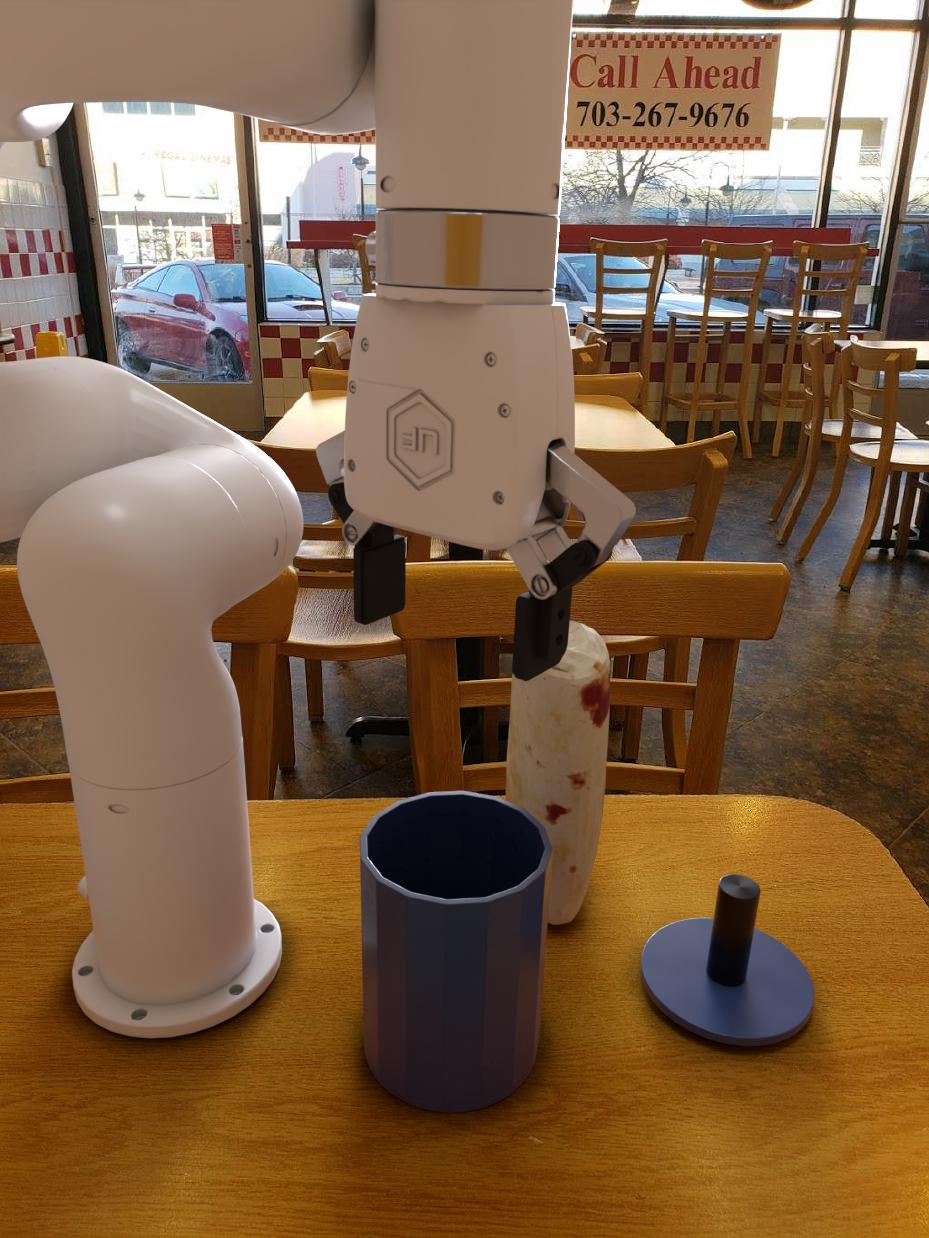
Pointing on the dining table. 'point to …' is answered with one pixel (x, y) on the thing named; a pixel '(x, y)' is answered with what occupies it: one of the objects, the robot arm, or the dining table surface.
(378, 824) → the pot
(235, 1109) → the dining table surface
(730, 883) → the lid
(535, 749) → the food model
